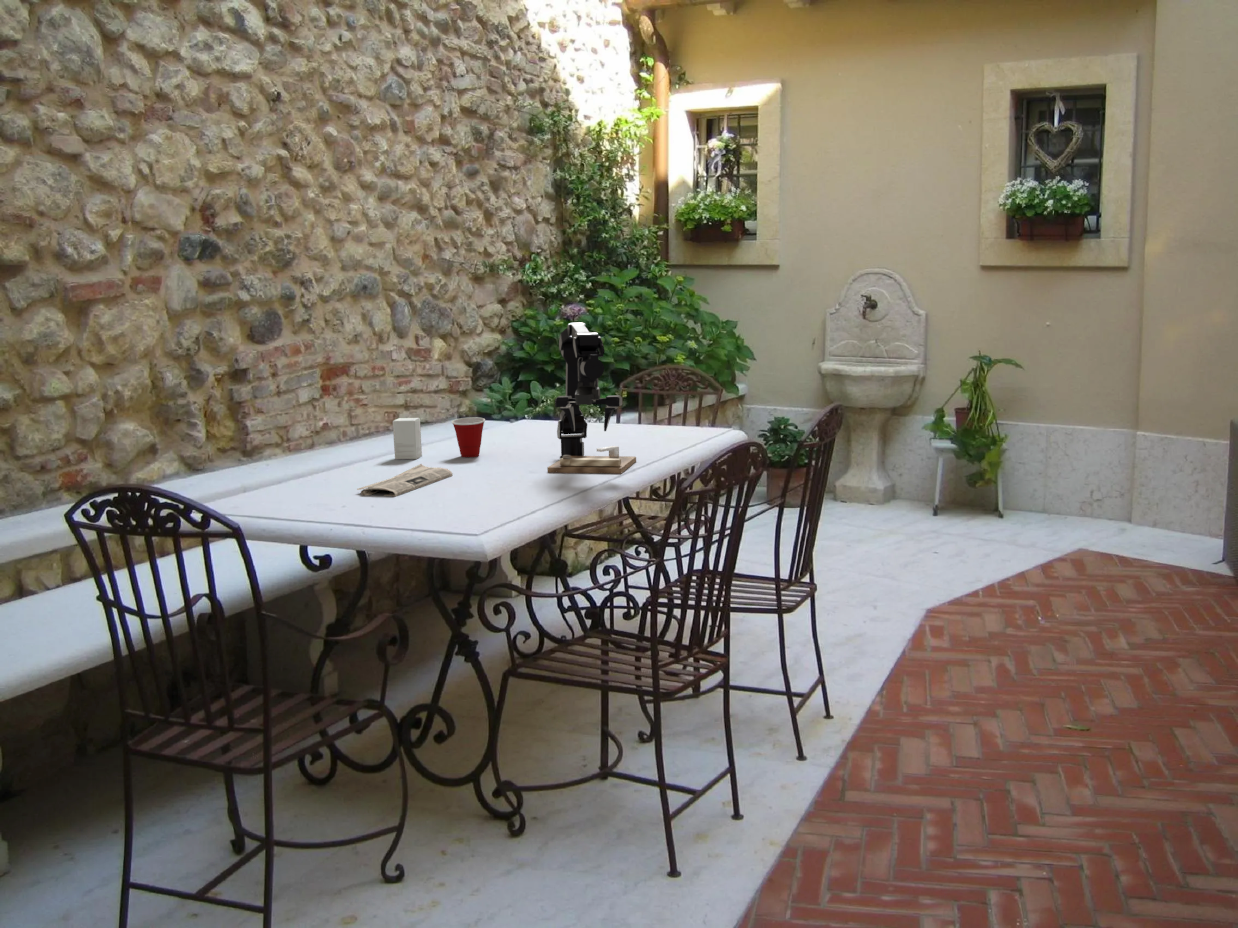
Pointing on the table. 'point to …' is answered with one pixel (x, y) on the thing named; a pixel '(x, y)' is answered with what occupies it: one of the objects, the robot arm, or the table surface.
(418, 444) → the supplement box
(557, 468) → the board
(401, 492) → the newspaper
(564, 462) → the link
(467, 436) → the plastic cup
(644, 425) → the table surface
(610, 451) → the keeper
